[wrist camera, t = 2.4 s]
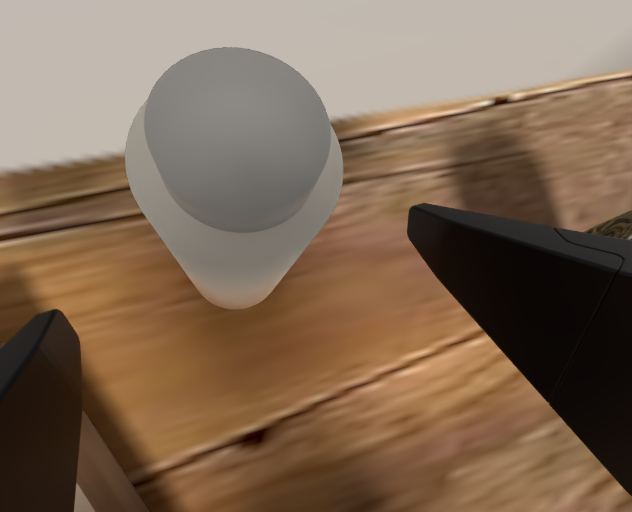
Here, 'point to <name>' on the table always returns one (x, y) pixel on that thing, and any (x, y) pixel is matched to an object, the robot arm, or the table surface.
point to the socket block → (101, 476)
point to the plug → (234, 170)
